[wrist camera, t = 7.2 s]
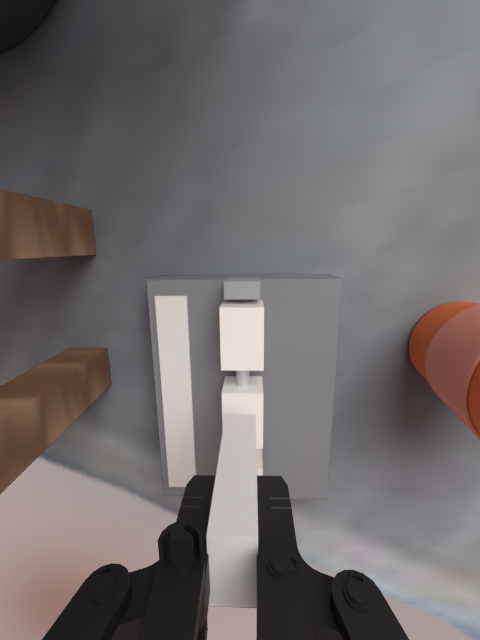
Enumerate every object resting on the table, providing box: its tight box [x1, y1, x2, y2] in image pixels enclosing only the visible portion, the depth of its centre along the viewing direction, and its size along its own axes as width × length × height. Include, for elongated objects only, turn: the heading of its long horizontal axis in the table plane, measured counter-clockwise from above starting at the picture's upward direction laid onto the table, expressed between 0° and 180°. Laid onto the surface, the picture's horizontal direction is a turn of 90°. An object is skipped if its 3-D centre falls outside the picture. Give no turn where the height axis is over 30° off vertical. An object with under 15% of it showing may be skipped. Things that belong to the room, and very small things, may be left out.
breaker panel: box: [146, 274, 342, 500], centre depth 21 cm, size 16×12×5 cm
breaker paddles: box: [219, 300, 264, 476], centre depth 19 cm, size 14×2×2 cm, turn 1°
